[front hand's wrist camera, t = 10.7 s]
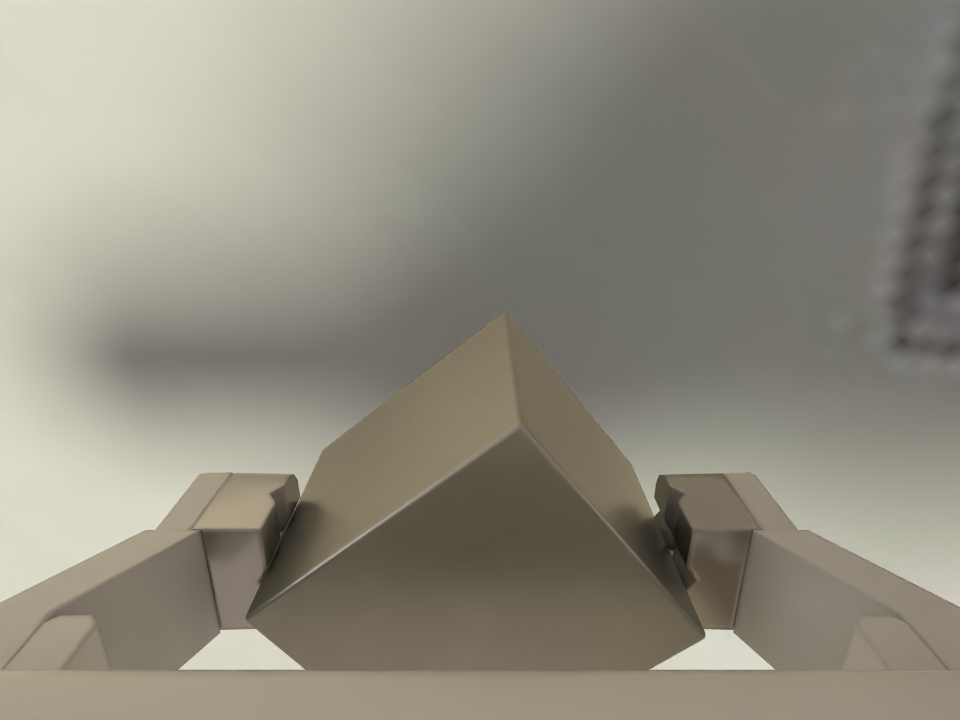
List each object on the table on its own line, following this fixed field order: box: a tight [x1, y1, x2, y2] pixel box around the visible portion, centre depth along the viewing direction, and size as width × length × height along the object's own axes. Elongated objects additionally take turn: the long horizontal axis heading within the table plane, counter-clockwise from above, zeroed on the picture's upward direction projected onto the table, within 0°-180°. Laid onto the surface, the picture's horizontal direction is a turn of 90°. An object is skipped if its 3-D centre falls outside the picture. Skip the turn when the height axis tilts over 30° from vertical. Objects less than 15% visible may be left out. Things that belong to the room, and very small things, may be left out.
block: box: [245, 312, 705, 670], centre depth 10 cm, size 4×4×4 cm
